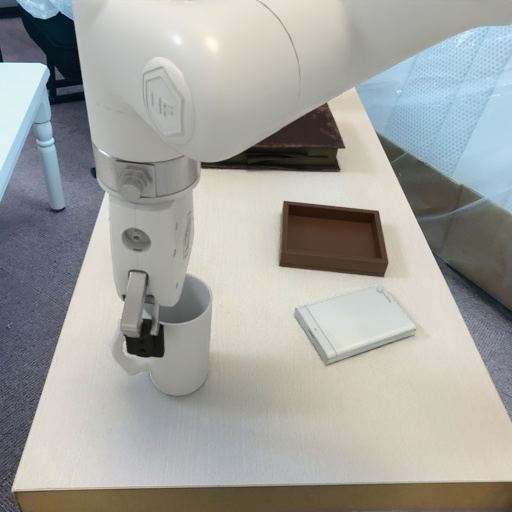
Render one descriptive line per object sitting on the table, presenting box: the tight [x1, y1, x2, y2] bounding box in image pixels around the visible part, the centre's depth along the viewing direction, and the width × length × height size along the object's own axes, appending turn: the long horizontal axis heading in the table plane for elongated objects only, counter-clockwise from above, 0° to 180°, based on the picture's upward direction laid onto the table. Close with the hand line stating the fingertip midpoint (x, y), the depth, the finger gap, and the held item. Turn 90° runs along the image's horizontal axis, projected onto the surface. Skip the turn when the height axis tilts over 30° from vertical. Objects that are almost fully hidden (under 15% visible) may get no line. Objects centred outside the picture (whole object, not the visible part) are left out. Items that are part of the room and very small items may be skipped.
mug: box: [110, 272, 214, 397], centre depth 51 cm, size 10×7×12 cm, turn 116°
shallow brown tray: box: [278, 200, 389, 278], centre depth 73 cm, size 12×14×3 cm
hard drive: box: [293, 282, 417, 365], centre depth 62 cm, size 2×8×12 cm
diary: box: [201, 102, 346, 172], centre depth 91 cm, size 19×25×5 cm
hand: (157, 311), depth 48 cm, fingers open, 9 cm apart
